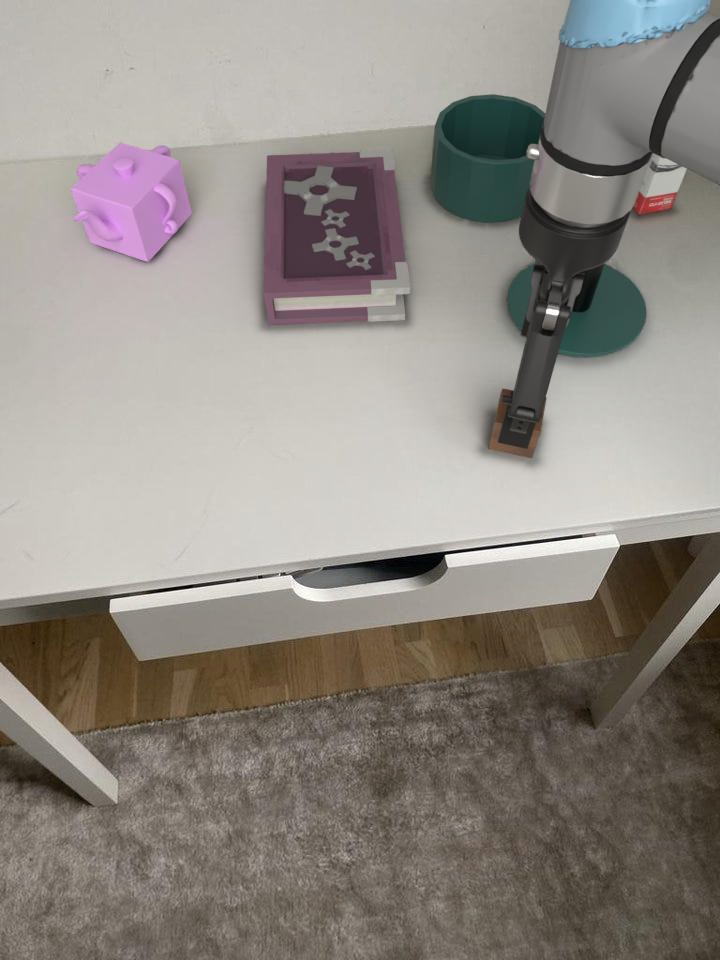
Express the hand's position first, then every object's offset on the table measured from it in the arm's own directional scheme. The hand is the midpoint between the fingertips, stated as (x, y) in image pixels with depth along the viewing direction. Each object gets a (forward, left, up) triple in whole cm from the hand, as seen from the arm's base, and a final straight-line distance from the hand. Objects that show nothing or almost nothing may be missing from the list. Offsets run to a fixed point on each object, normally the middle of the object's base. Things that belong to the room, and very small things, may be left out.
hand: (524, 386), depth 73 cm
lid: (-4, -20, -7) cm, 22 cm away
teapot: (+51, -19, -8) cm, 55 cm away
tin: (+10, -40, -8) cm, 42 cm away
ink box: (-10, -44, -8) cm, 46 cm away
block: (0, 0, -8) cm, 8 cm away
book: (+26, -23, -8) cm, 35 cm away
